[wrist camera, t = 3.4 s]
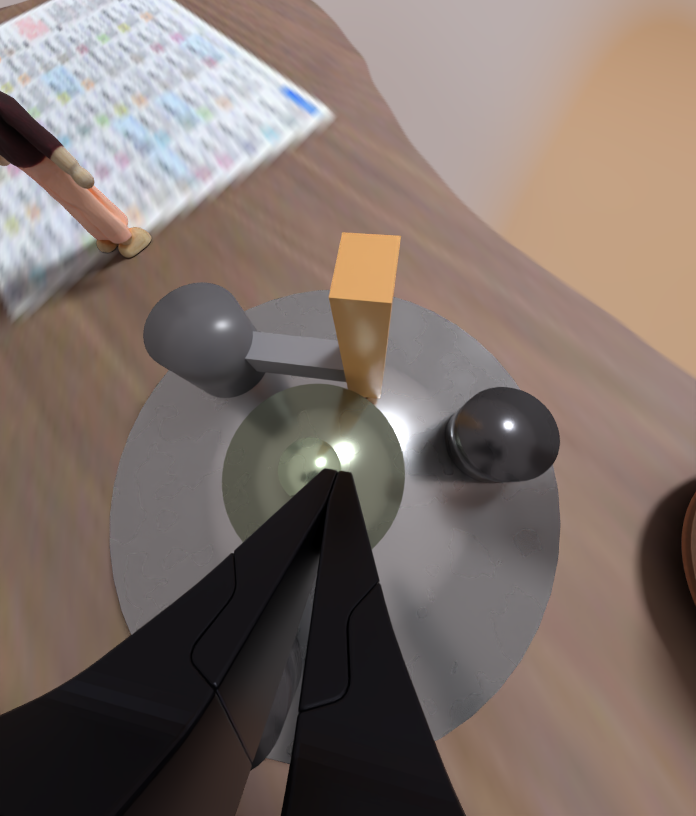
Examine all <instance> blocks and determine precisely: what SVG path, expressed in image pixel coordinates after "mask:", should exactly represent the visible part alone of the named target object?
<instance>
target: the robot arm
mask: <svg viewBox="0 0 696 816" xmlns="http://www.w3.org/2000/svg"><path fill="white" fill-rule="evenodd" d="M316 574H317V578H316V585H315V592H314V599H313V606H312V614H311V621H310V628H309V635H308V642H307V650H306V657H305V664H304V671H303V678H302V685H301V693H300V700H299V707H298V716H297V721H296V728H295V735H294V742H293V748H292V755H291V761H290V767H289V773H288V779H287V785H286V790H285V796H284V801H283V807H282V812H281V816H466V815H465V812H464V810H463V808H462V806H461V804H460V802H459V799H458V797H457V795H456V793H455V790H454V788H453V786H452V784H451V781H450V779H449V776H448V774H447V772H446V769H445V767H444V764H443V762H442V759H441V757H440V754H439V752H438V749H437V747H436V744H435V741H434V739H433V736H432V733H431V731H430V728H429V725H428V723H427V720H426V717H425V715H424V712H423V709H422V707H421V704H420V701H419V699H418V696H417V693H416V691H415V688H414V685H413V683H412V680H411V677H410V675H409V672H408V669H407V667H406V664H405V661H404V659H403V656H402V653H401V650H400V647H399V644H398V641H397V638H396V635H395V633H394V630H393V627H392V623H391V620H390V616H389V613H388V609H387V606H386V602H385V599H384V595H383V591H382V587H381V584H380V583H379V582H380V580H379V576H378V572H377V568H376V564H375V560H374V556H373V552H372V548H371V545H370V541H369V537H368V533H367V529H366V525H365V521H364V517H363V513H362V509H361V505H360V502H359V498H358V494H357V490H356V486H355V482H354V478H353V474H352V473H351V472H346V471H338V472H337V470H334V469H328V468H324V469H323V470H321V471H320V472H319V473H318V474H317V475H316V476H315V477H314V478H313V479H312V480H310V481H309V482H308V483H307V484H306V485H305V486H304V487H303V488H302V489H301V490H300V491H298V492H297V493H296V494H295V495H294V496H293V497H292V498H291V499H290V500H289V501H288V502H286V503H285V504H284V505H283V506H282V507H281V508H280V509H279V510H278V511H277V512H276V513H274V514H273V515H272V516H271V517H270V518H269V519H268V520H267V521H266V522H265V523H264V524H262V525H261V526H260V527H259V528H258V529H257V530H256V531H255V532H254V533H253V534H252V535H250V536H249V537H248V538H247V539H246V540H245V541H244V542H243V543H242V544H241V545H239V546H238V547H237V548H236V549H235V550H234V553H231V554H229V555H228V556H227V557H226V558H225V559H224V560H223V561H222V562H221V563H220V564H219V565H217V566H216V567H215V568H214V569H213V570H212V571H211V572H209V573H208V574H207V575H206V576H205V577H204V578H203V579H201V580H200V581H199V582H198V583H197V584H196V585H194V586H193V587H192V588H191V589H189V590H188V591H187V592H186V593H184V594H183V595H182V596H181V597H179V598H178V599H177V600H176V601H174V602H173V603H172V604H171V605H169V606H168V607H167V608H165V609H164V610H163V611H162V612H160V613H159V614H158V615H156V616H155V617H154V618H152V619H151V620H150V621H149V622H147V623H146V624H145V625H143V626H142V627H141V628H139V629H138V630H137V631H136V632H134V633H133V634H132V635H130V636H129V637H128V638H126V639H125V640H124V641H123V642H121V643H120V644H119V645H117V646H116V647H115V648H114V649H112V650H111V651H110V652H108V653H107V654H106V655H104V656H103V657H102V658H101V659H99V660H98V661H96V662H95V663H94V664H92V665H91V666H90V667H88V668H87V669H85V670H84V671H82V672H81V673H79V674H78V675H76V676H75V677H73V678H72V679H70V680H69V681H67V682H65V683H64V684H62V685H60V686H59V687H57V688H55V689H53V690H52V691H50V692H48V693H46V694H44V695H42V696H41V697H39V698H36V699H34V700H32V701H30V702H28V703H26V704H24V705H22V706H19V707H17V708H15V709H13V710H11V711H9V712H6V713H4V714H2V715H0V816H235V814H236V811H237V808H238V805H239V802H240V799H241V796H242V793H243V790H244V787H245V784H246V781H247V778H248V775H249V772H250V770H251V767H252V764H251V763H252V762H253V760H254V757H255V754H256V751H257V748H258V746H259V743H260V740H261V737H262V734H263V731H264V728H265V725H266V722H267V719H268V716H269V713H270V710H271V707H272V704H273V701H274V698H275V695H276V692H277V689H278V686H279V683H280V680H281V677H282V674H283V672H284V669H285V666H286V663H287V660H288V657H289V654H290V651H291V648H292V645H293V642H294V639H295V636H296V633H297V630H298V627H299V624H300V621H301V618H302V615H303V612H304V609H305V606H306V603H307V600H308V597H309V595H310V592H311V589H312V586H313V583H314V580H315V577H316Z"/></svg>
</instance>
